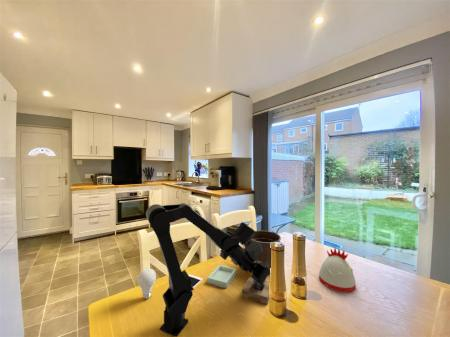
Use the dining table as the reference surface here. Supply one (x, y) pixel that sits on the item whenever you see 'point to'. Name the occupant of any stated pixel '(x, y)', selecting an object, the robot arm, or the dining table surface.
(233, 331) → the dining table surface
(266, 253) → the plant pot
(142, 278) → the light bulb
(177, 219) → the robot arm
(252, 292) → the socket block
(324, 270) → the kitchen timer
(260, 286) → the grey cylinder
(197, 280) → the cell phone
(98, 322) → the dining table surface
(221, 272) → the tray
